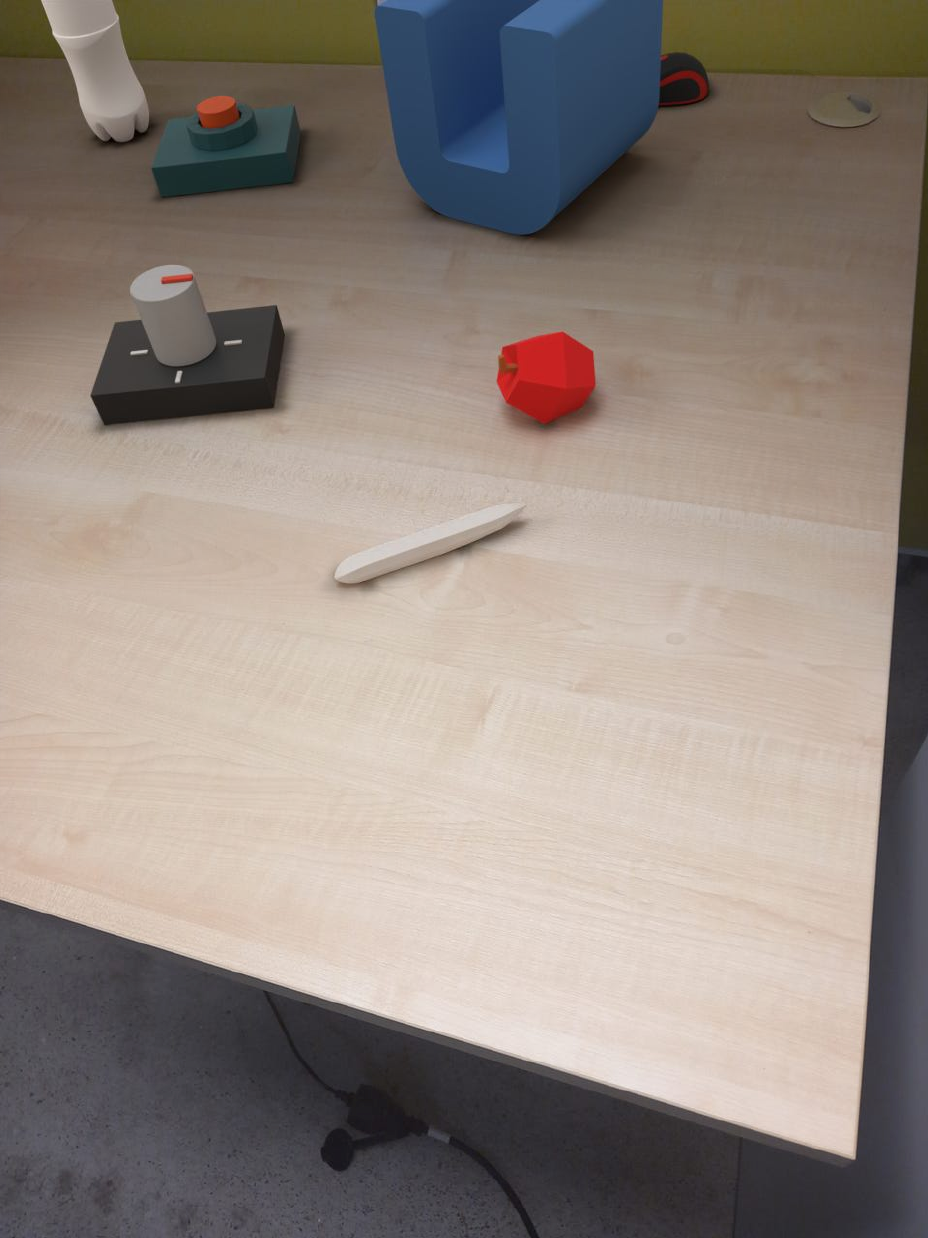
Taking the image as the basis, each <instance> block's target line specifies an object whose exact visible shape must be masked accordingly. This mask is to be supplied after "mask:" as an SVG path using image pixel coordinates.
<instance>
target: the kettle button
mask: <svg viewBox="0 0 928 1238" xmlns="http://www.w3.org/2000/svg"><path fill="white" fill-rule="evenodd" d="M236 103H237V102H236V99H235V98H234V97H233V96H229V95H217V96H212V97H208V98H206V99H204V100H202V101H201V102H200V103H199V104H197V106H196V112H198V114H199V118H200V121H201V124H202V127H204V128H210V129H212V128H221V127H225V126H227V125H230V124H233V123H235V122H236V121H237V120H239V119H240V117H239V113H238V109H237V105H236Z"/></svg>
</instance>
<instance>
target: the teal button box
mask: <svg viewBox="0 0 928 1238" xmlns="http://www.w3.org/2000/svg"><path fill="white" fill-rule="evenodd" d="M236 105H237V109H238V113H239V117H240V119H239V120H237V121H236V122H235V123H233V124H230V125H227V126H225V127H221V128H212V129H210V128H204V127H202V124H201V121H200V118H199V114H198V111H196V112H195V113H194V114H192V115H191V116H188V117H180V118H171V119H168V120H167V123H166V125H165V128H164V131H163V133H162V136H161V139H160V141H159V145H158V147H157V150H156V153H155V156H154V159H153V161H152V164H151V167H150V169H151V172H152V175H153V178H154V181H155V184H156V188H157V189H158V193H159V195H160V197H161V198H167V197H177V196H185V195H194V194H195V195H196V194H203V193H212V192H220V191H229V190H236V189H237V190H239V189H247V188H255V187H264V186H271V185H272V186H273V185H281V184H289V183H290V184H291V183H293V182H294V176H295V171H296V165H297V159H298V153H299V147H300V141H301V136H302V131H301V127H300V123H299V119H298V118H299V117H298V114H297V110H296V105H295V104H288V105H278V106H271V107H263V108H262V107H261V108H254V109H253V108H251V106H249V105H247V104H246V103H239V102H236Z"/></svg>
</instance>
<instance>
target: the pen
mask: <svg viewBox="0 0 928 1238" xmlns="http://www.w3.org/2000/svg"><path fill="white" fill-rule="evenodd" d="M527 506H528V504H527V503H519V502H517V503H516V502H514V503H513V502H510V503H509V502H508V503H501V504H496V505H495V504H494V505H492V506H489V507H486V508H483V509H480V510H477V511H474V512H471V513H468V514H465V515H462V516H459V517H457V518H453V519H451V520H447V521H444V522H442V523H441V522H440V523H437V524H435V525H433V526H432V525H431V526H430V527H427V528H424V529H421V530H418V531H416V532H411V533H410V534H406V535H403V536H400V537H398V538H395V539H392V540H390V541H387V542H384V543H381V544H378V545H375V546H371V547H369V548H367V549H366V548H365V549H364V550H361V551H359V552H356V553H355V554H353V555H350V556H348V557H347V558H345V559H344V560H342V561H341V562H340V564H339V565H338V566H337V568H336V569H335V573H334V580H336V581H337V582H340V583H343V584H359V583H362V582H365V581H369V580H371V579H374V578H377V577H380V576H383V575H386V574H389V573H391V572H394V571H397V570H401V569H404V568H406V567H409V566H412V565H415V564H418V563H421V562H424V561H427V560H429V559H432V558H433V559H434V558H436V557H439V556H442V555H444V554H447V553H449V552H451V551H454V550H456V549H458V548H461V547H464V546H466V545H469V544H471V543H473V542H475V541H477V540H480V539H482V538H485V537H487V536H488V535H491V534H493V533H495V532H498V531H499V530H502V529H503V528H505V527H506V526H507V525H509V524H510V523H511V522H512V521H513V520H515V519H516V518H517V517H518V516H519V515H520V514H521V513H522V512H523V511H524V510H525V508H526V507H527Z"/></svg>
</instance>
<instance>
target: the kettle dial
mask: <svg viewBox="0 0 928 1238" xmlns="http://www.w3.org/2000/svg"><path fill="white" fill-rule="evenodd" d="M198 285H199V284H198V282H197V279H196V277H195V273H194V271H192V269H191V268H189V267H187V266H184V265H179V264H165V265H161V266H156V267H153V268H151V269H148V270H146V271H144V272H142V273H141V274H140V275H138V276H137V277H136V278H135V279H134V280H133V281H132V283H130V287H129V292H130V295H131V298H132V300H133V303H134V306H135V309H136V311H137V312H138V316H139V318H140V320H142V323H143V325H144V328H145V330H146V333H147V335H148V338H149V340H150V343H151V345H152V348H153V350H154V353H155V355H156V358H157V359H158V360H159V361H160V362H161V363H163V364H165V365H168V366H186V365H190V364H194V363H196V362H199V361H201V360H203V359H204V358H206V357H207V356H208V355H210V354H211V353H212V351H213V350H214V348H215V346H216V338H215V335H214V332H213V329H212V326H211V323H210V320H209V317H208V314H207V308H206V306H205V302H204V300H203V297H202V294H201V292H200V287H199V286H198Z"/></svg>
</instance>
